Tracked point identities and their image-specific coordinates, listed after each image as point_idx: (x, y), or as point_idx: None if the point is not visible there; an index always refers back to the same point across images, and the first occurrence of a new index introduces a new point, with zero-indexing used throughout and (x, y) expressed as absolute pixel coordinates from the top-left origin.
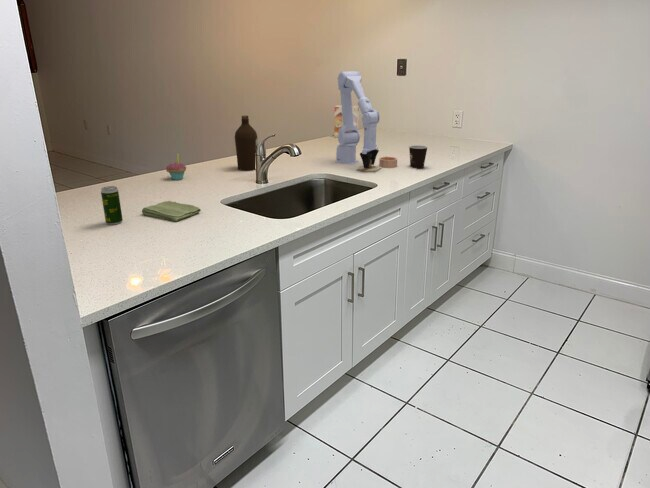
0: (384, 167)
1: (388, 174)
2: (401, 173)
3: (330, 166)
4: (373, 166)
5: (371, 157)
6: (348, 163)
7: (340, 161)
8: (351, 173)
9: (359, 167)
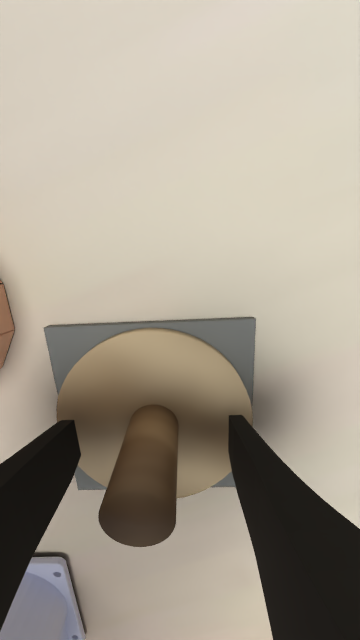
0: (4, 317)
1: (238, 171)
2: (116, 23)
3: (181, 629)
4: (81, 408)
5: (16, 534)
6: (68, 587)
7: (64, 638)
8: (325, 478)
9: (187, 491)
